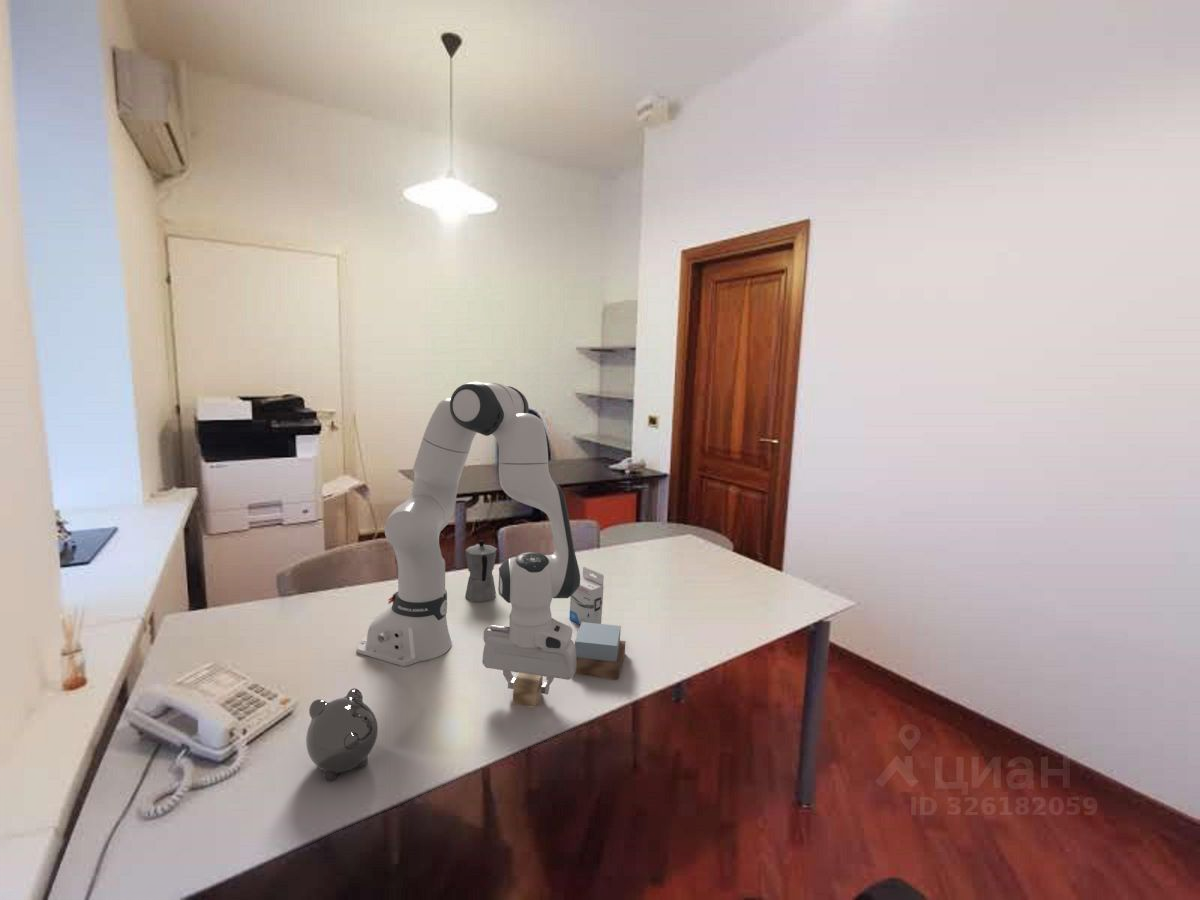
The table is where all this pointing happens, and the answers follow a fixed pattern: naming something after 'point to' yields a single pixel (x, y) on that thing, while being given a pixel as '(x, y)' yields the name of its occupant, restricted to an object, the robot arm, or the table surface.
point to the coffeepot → (480, 572)
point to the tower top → (598, 641)
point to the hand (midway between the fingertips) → (528, 689)
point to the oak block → (527, 689)
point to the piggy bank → (341, 734)
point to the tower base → (602, 665)
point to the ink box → (587, 598)
